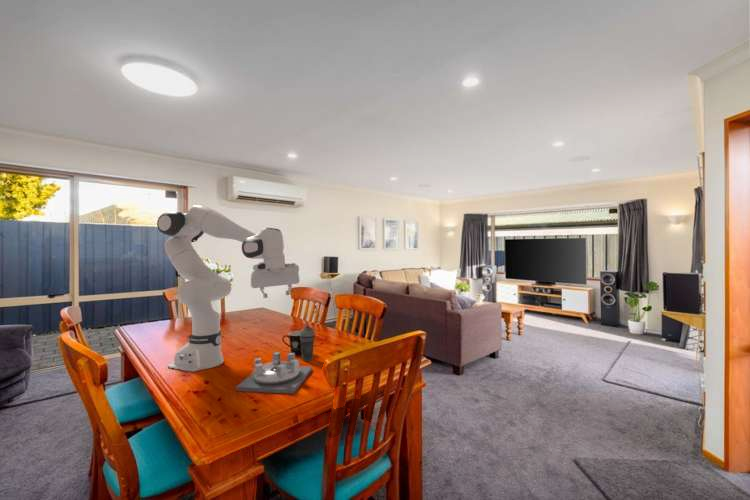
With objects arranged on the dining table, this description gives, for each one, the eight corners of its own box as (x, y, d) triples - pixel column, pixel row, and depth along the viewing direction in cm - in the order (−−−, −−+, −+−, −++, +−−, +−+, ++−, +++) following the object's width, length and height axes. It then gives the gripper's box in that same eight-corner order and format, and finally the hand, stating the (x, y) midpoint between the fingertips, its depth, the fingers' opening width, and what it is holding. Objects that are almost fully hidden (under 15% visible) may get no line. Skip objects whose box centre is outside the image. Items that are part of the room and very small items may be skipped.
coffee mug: (310, 352, 160) (310, 332, 160) (297, 357, 153) (297, 336, 153) (293, 348, 167) (293, 329, 166) (281, 353, 159) (280, 333, 159)
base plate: (236, 390, 118) (236, 386, 118) (263, 368, 140) (263, 364, 140) (293, 393, 115) (293, 389, 115) (311, 370, 137) (311, 366, 137)
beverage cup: (311, 363, 146) (311, 319, 145) (296, 361, 147) (296, 318, 147) (317, 357, 153) (317, 316, 152) (303, 356, 154) (303, 315, 154)
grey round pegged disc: (243, 384, 120) (243, 366, 119) (264, 366, 137) (264, 351, 137) (291, 386, 118) (290, 369, 117) (306, 367, 135) (306, 352, 135)
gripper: (296, 263, 146) (298, 293, 145) (249, 266, 136) (251, 298, 136) (300, 262, 140) (302, 293, 140) (250, 266, 131) (253, 300, 130)
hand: (276, 296), depth 138 cm, fingers open, 8 cm apart
